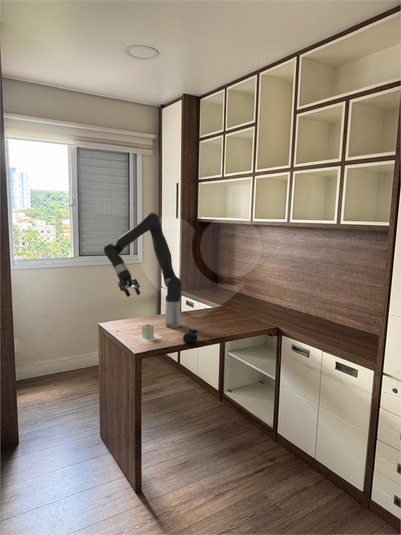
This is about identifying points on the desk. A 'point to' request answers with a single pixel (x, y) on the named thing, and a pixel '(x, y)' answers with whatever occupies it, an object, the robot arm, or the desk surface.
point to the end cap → (190, 337)
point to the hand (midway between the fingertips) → (134, 295)
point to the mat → (127, 328)
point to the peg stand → (147, 339)
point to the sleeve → (147, 331)
